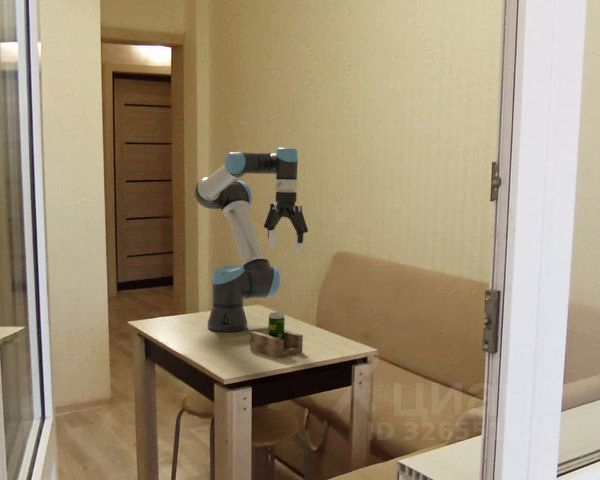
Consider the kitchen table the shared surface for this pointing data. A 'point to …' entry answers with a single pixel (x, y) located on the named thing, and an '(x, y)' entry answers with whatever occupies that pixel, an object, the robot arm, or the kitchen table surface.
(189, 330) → the kitchen table surface
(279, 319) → the beer can
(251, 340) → the slot block
